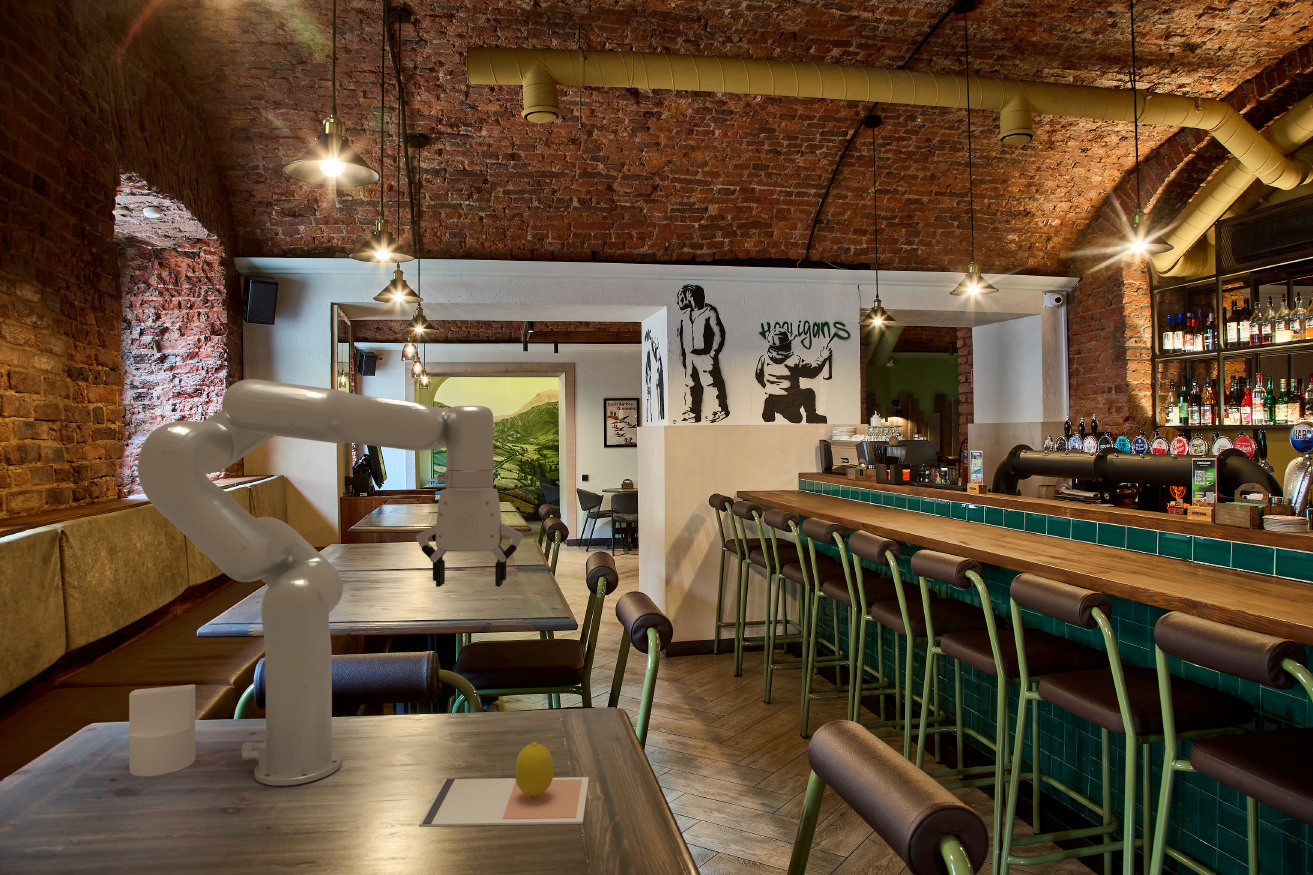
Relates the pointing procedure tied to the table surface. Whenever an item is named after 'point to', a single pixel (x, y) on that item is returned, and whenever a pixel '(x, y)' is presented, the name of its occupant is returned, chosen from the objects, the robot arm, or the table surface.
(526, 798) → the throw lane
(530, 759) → the lemon
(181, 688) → the base with upright slab
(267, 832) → the table surface
